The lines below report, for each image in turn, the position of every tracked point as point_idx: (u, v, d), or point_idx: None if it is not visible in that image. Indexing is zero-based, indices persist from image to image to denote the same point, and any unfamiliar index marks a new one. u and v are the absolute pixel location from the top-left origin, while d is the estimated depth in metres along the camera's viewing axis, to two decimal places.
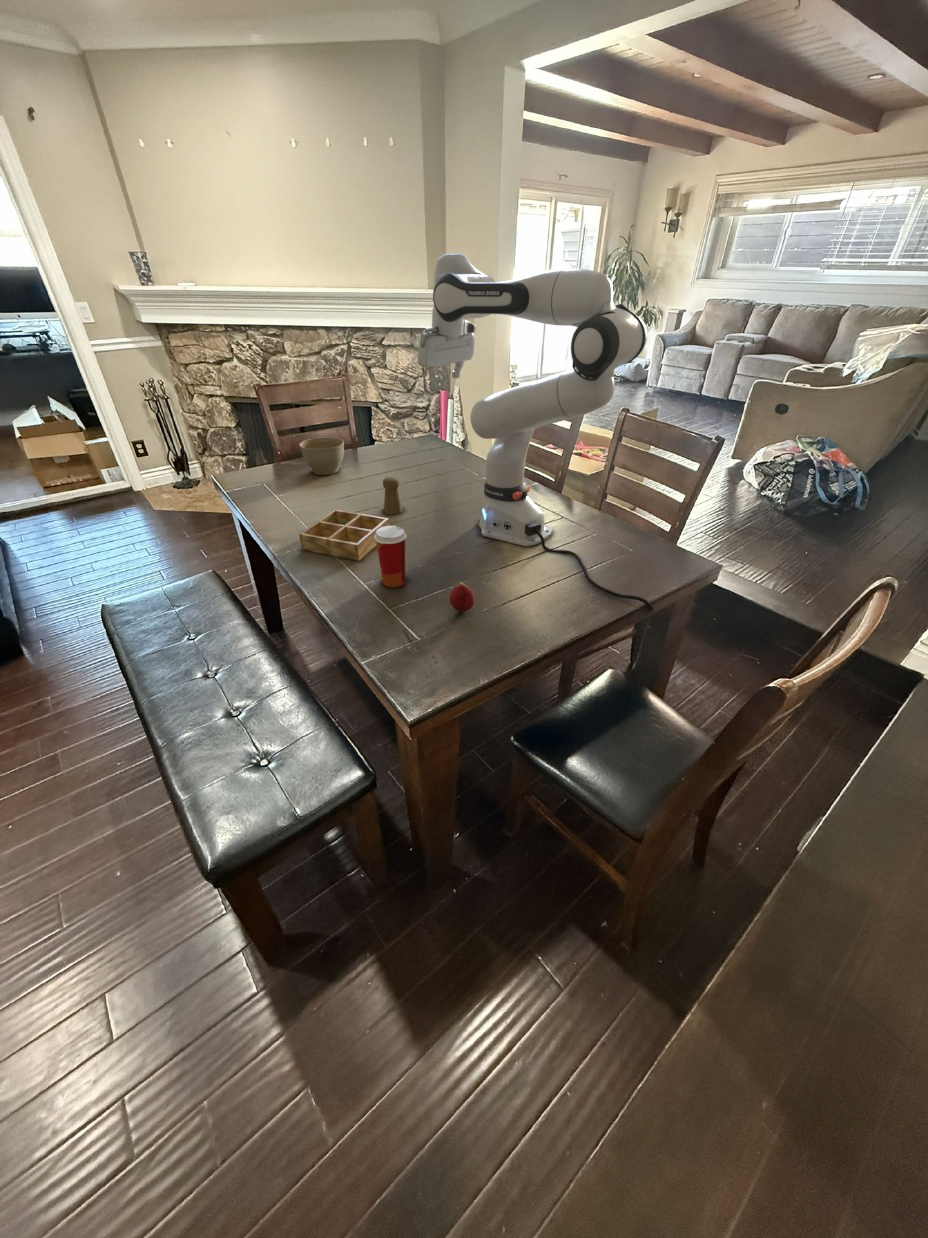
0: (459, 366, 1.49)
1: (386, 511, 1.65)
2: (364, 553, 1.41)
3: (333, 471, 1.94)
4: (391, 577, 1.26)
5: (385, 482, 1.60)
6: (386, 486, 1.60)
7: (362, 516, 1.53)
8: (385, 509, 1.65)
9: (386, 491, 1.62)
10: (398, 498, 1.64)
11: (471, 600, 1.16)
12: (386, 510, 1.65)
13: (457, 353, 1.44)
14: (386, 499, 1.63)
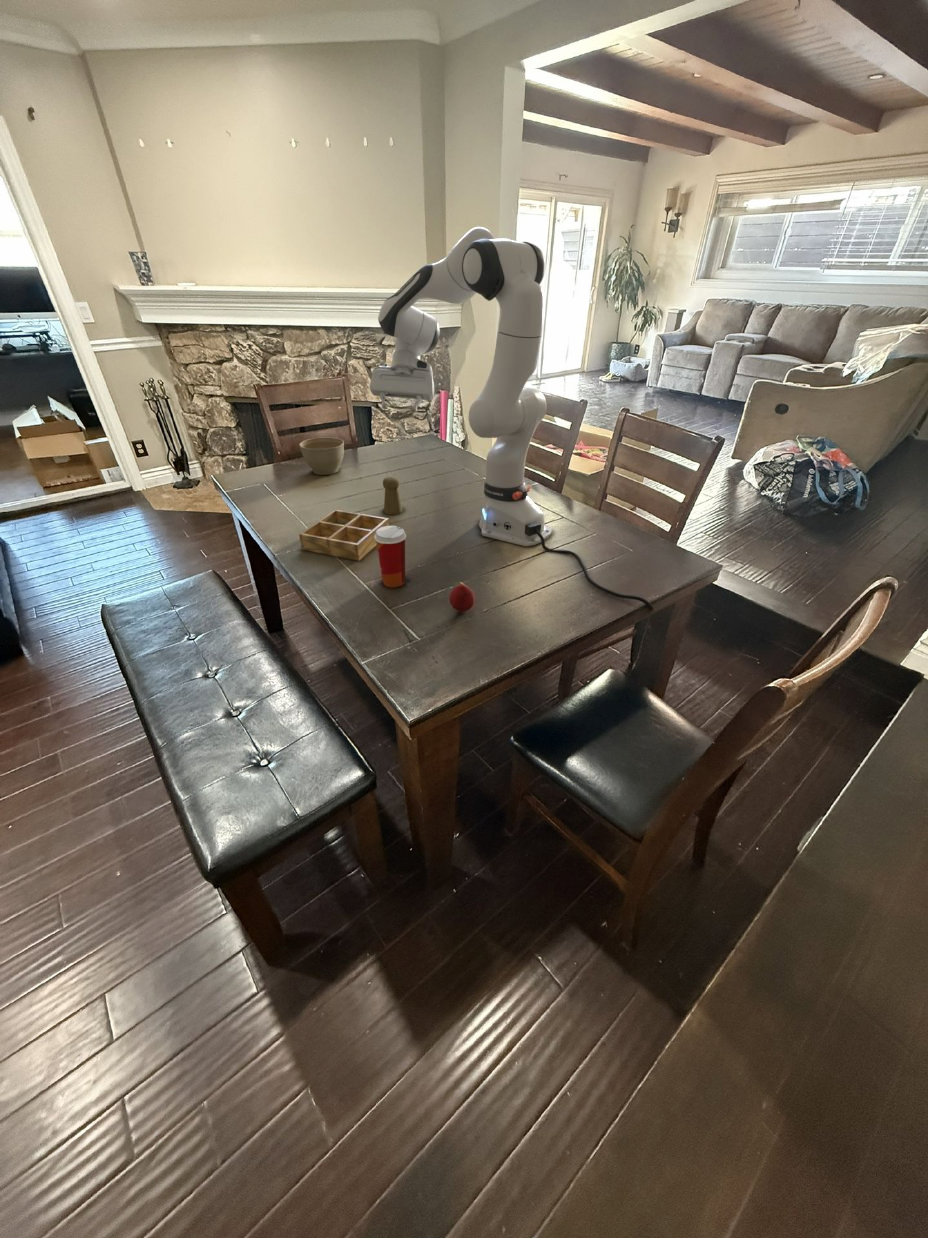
0: None
1: (386, 511, 1.65)
2: (364, 553, 1.41)
3: (333, 471, 1.94)
4: (391, 577, 1.26)
5: (385, 482, 1.60)
6: (386, 486, 1.60)
7: (362, 516, 1.53)
8: (385, 509, 1.65)
9: (386, 491, 1.62)
10: (398, 498, 1.64)
11: (471, 600, 1.16)
12: (386, 510, 1.65)
13: (409, 385, 1.59)
14: (386, 499, 1.63)
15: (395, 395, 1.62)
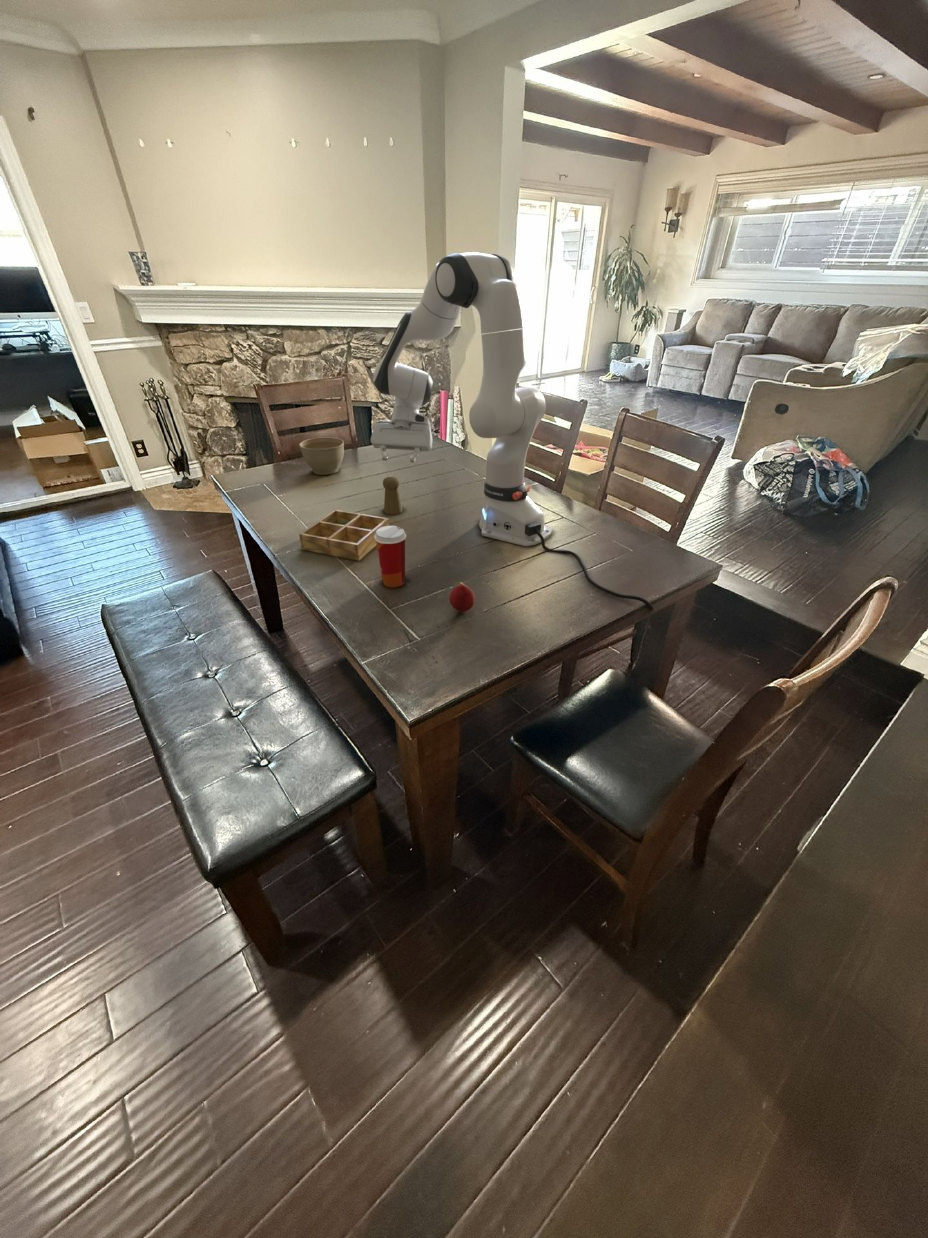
0: None
1: (386, 511, 1.65)
2: (364, 553, 1.41)
3: (333, 471, 1.94)
4: (391, 577, 1.26)
5: (385, 482, 1.60)
6: (386, 486, 1.60)
7: (362, 516, 1.53)
8: (385, 509, 1.65)
9: (386, 491, 1.62)
10: (398, 498, 1.64)
11: (471, 600, 1.16)
12: (386, 510, 1.65)
13: (408, 438, 1.66)
14: (386, 499, 1.63)
15: (395, 447, 1.69)
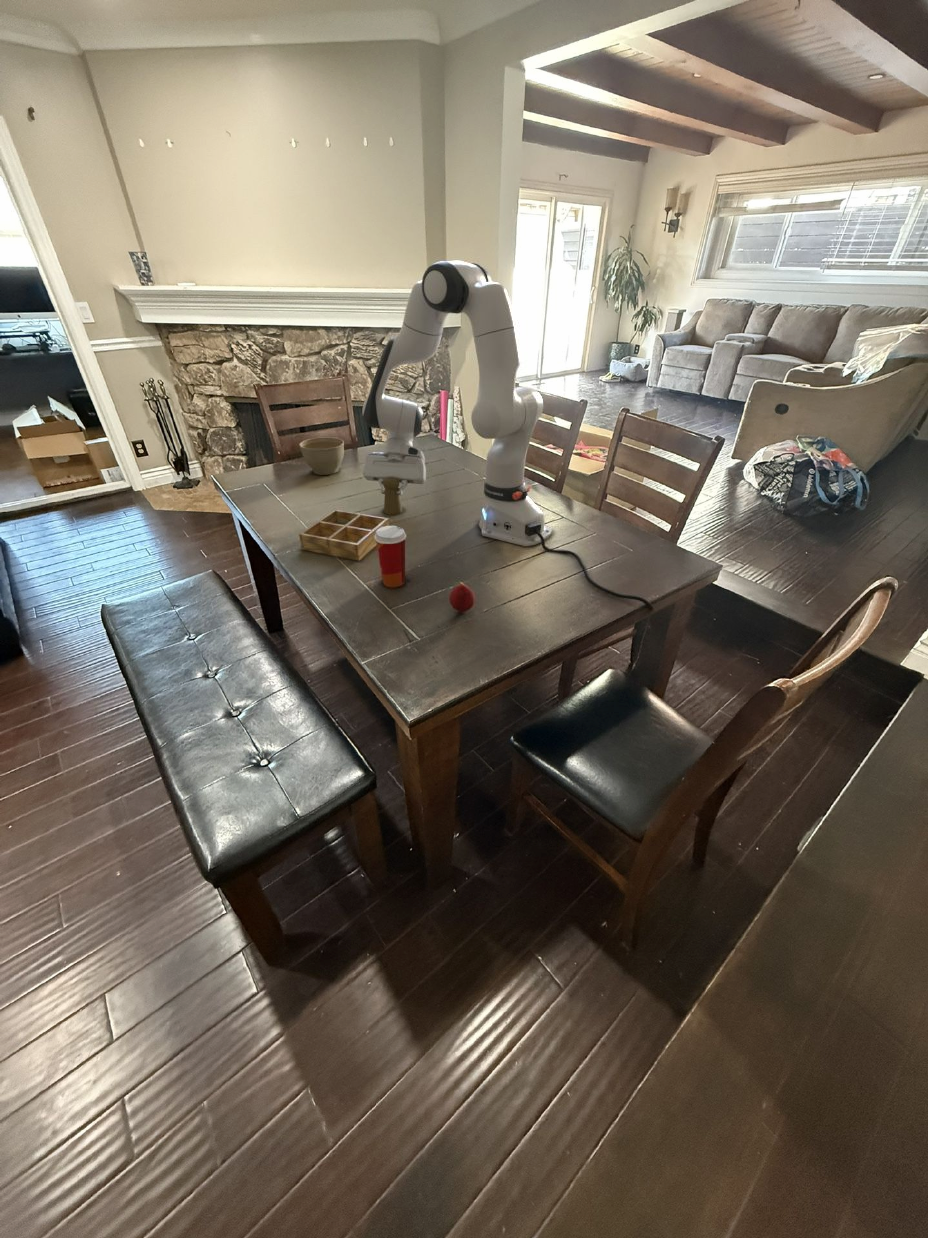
0: None
1: (386, 511, 1.65)
2: (364, 553, 1.41)
3: (333, 471, 1.94)
4: (391, 577, 1.26)
5: (385, 483, 1.60)
6: (386, 486, 1.60)
7: (362, 516, 1.53)
8: (385, 509, 1.65)
9: (386, 491, 1.62)
10: (398, 498, 1.64)
11: (471, 600, 1.16)
12: (386, 510, 1.65)
13: (401, 471, 1.62)
14: (386, 499, 1.63)
15: None
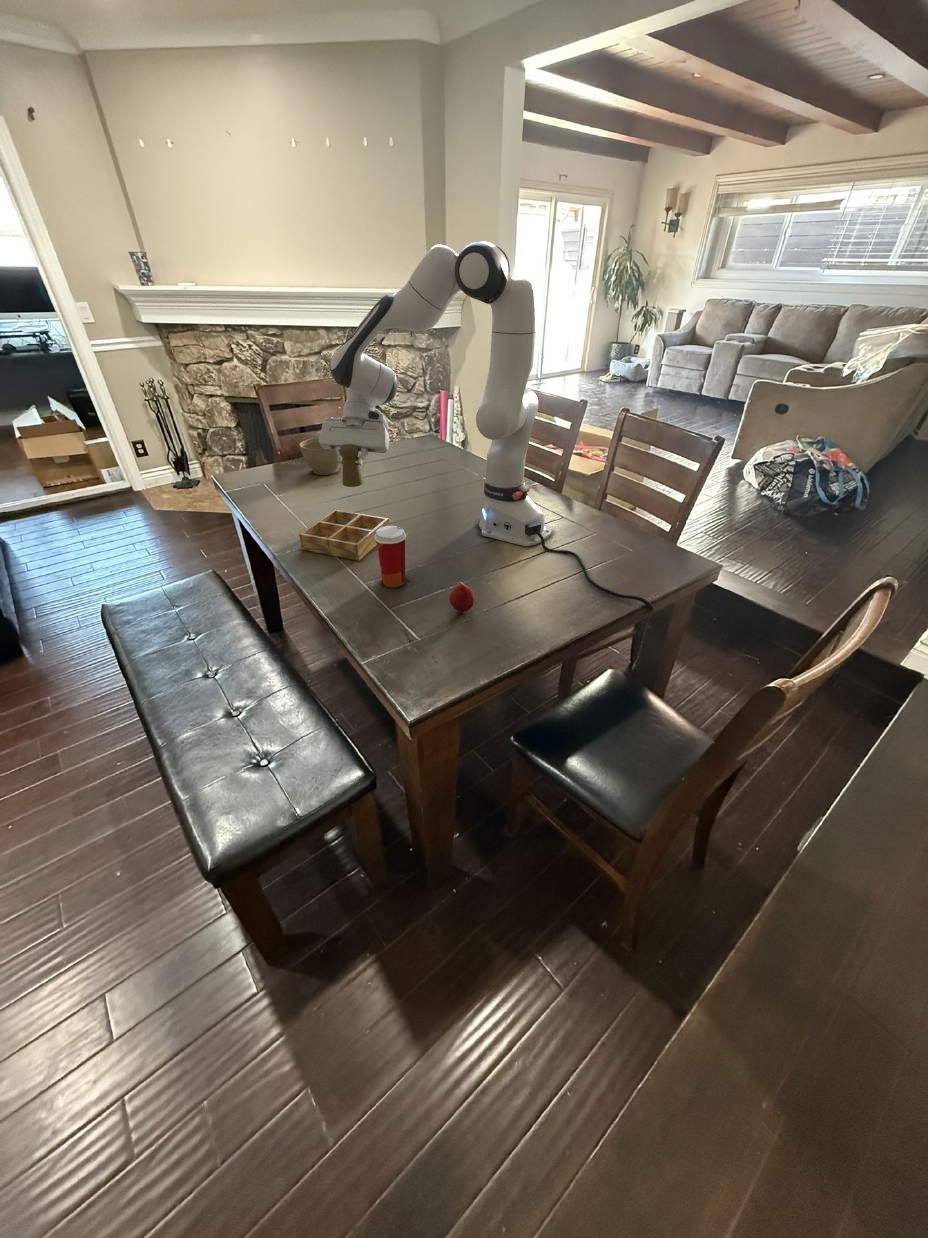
0: None
1: (344, 483, 1.48)
2: (364, 553, 1.41)
3: (333, 471, 1.94)
4: (391, 577, 1.26)
5: (341, 450, 1.43)
6: (343, 454, 1.43)
7: (362, 516, 1.53)
8: (343, 481, 1.48)
9: (344, 460, 1.45)
10: (357, 468, 1.46)
11: (471, 600, 1.16)
12: (344, 482, 1.48)
13: (361, 438, 1.45)
14: (344, 469, 1.46)
15: None
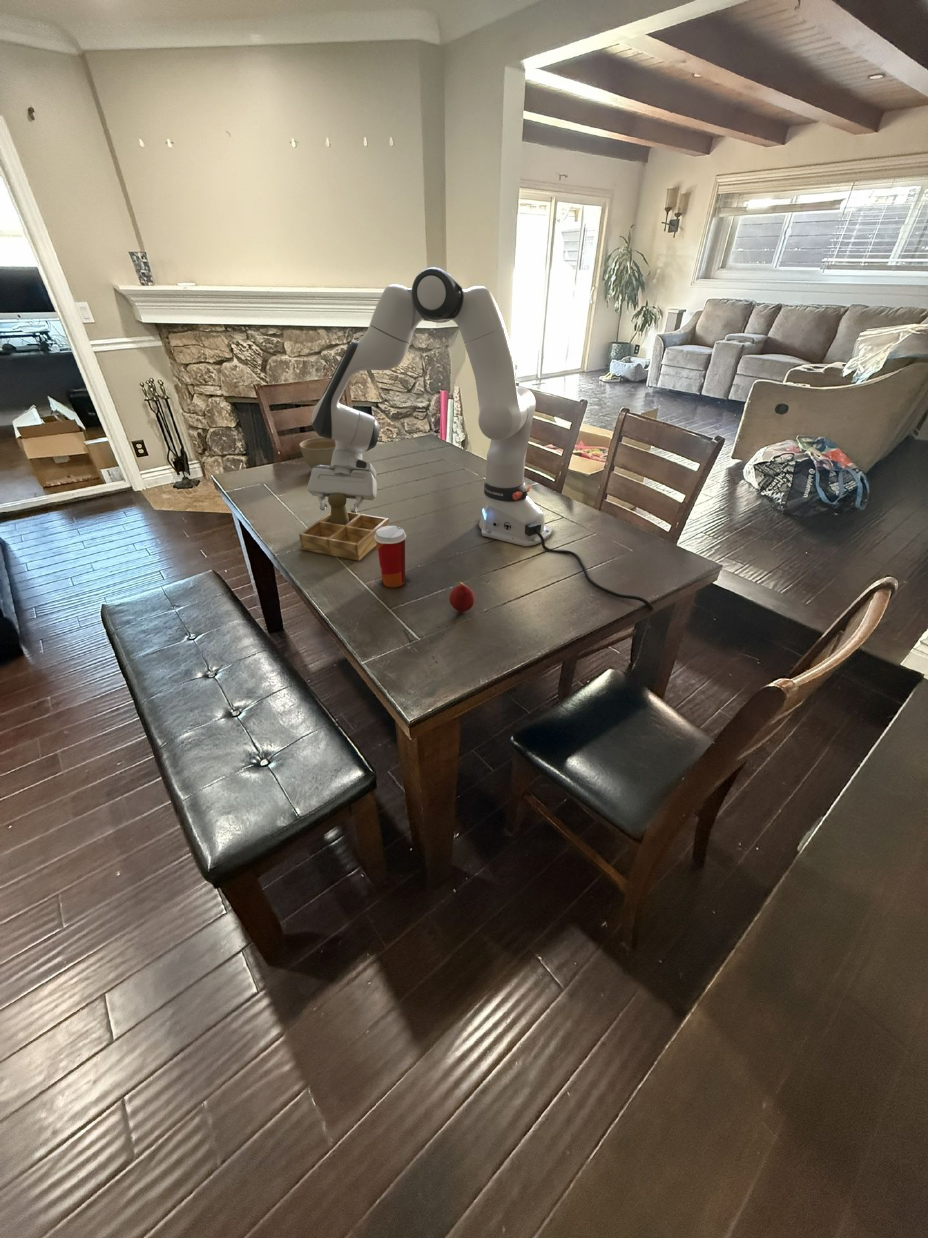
0: None
1: None
2: (364, 553, 1.41)
3: None
4: (391, 577, 1.26)
5: (330, 500, 1.46)
6: (331, 503, 1.46)
7: (362, 516, 1.53)
8: None
9: (332, 509, 1.48)
10: (346, 516, 1.50)
11: (471, 600, 1.16)
12: None
13: (349, 486, 1.48)
14: (332, 517, 1.49)
15: None
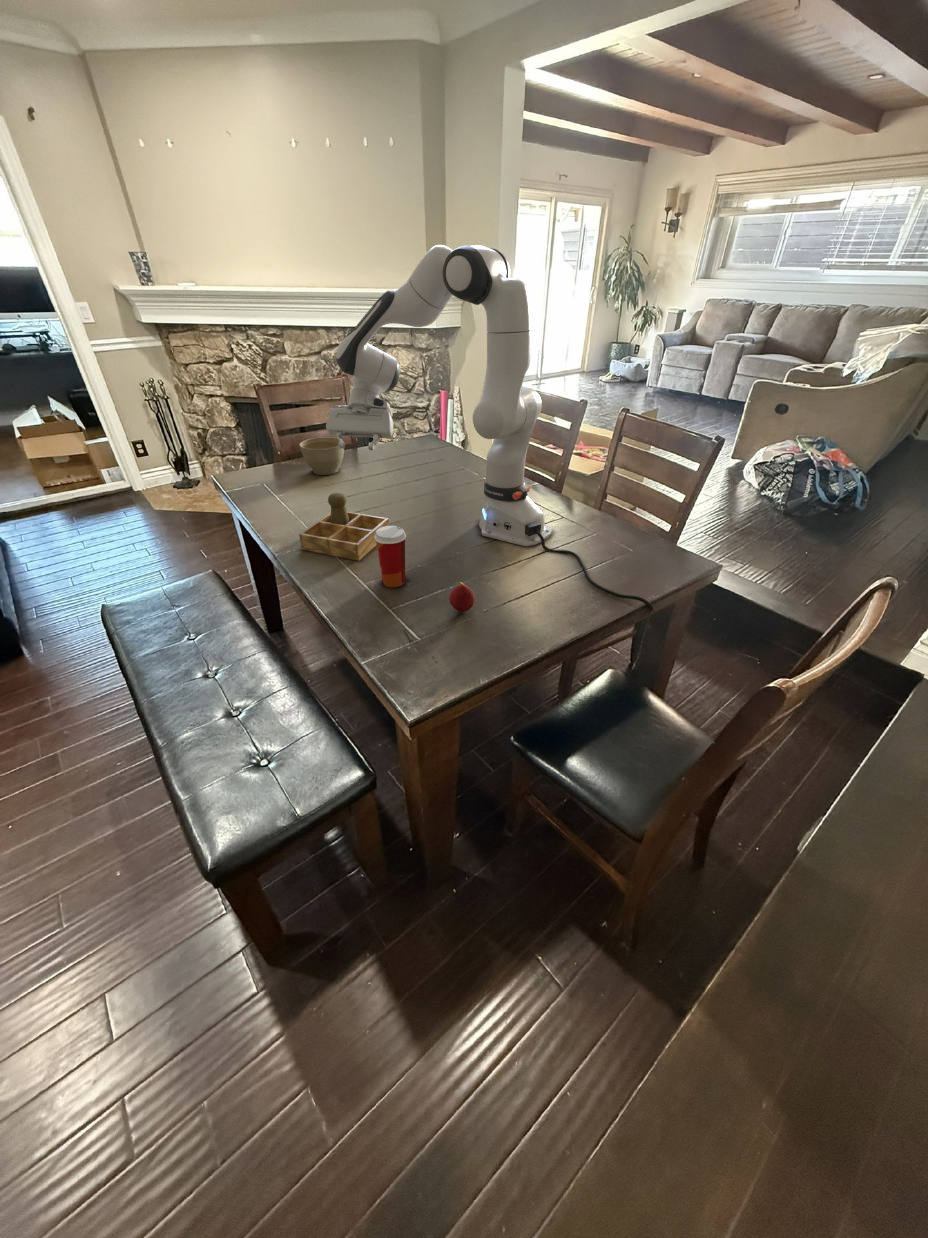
0: None
1: None
2: (364, 553, 1.41)
3: (333, 471, 1.94)
4: (391, 577, 1.26)
5: (330, 500, 1.46)
6: (331, 503, 1.46)
7: (362, 516, 1.53)
8: None
9: (332, 509, 1.48)
10: (346, 516, 1.50)
11: (471, 600, 1.16)
12: None
13: (366, 424, 1.53)
14: (332, 517, 1.49)
15: (353, 434, 1.56)
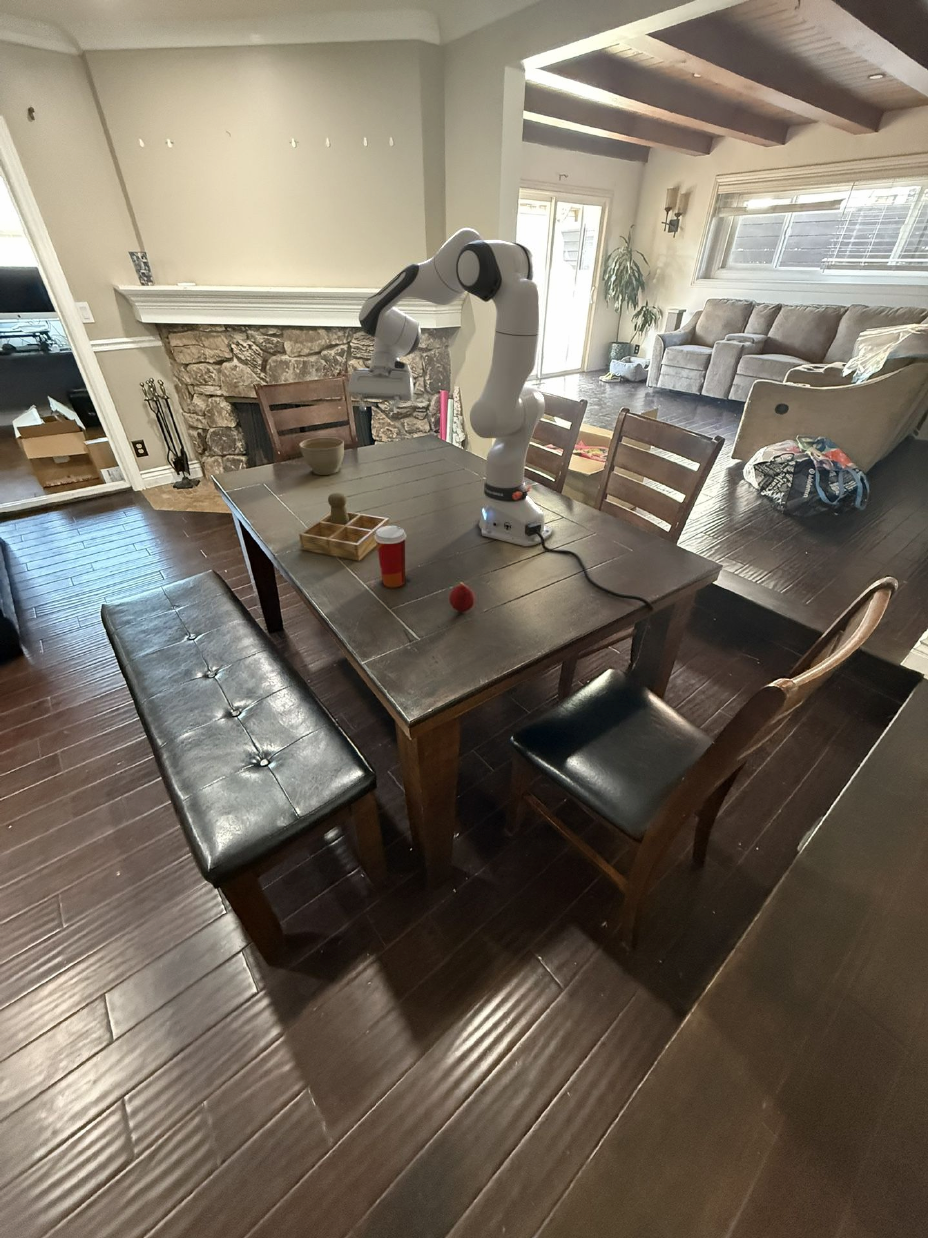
0: None
1: None
2: (364, 553, 1.41)
3: (333, 471, 1.94)
4: (391, 577, 1.26)
5: (329, 500, 1.46)
6: (331, 503, 1.46)
7: (362, 516, 1.53)
8: None
9: (332, 509, 1.48)
10: (346, 516, 1.50)
11: (471, 600, 1.16)
12: None
13: (387, 386, 1.55)
14: (332, 517, 1.49)
15: (374, 397, 1.59)
